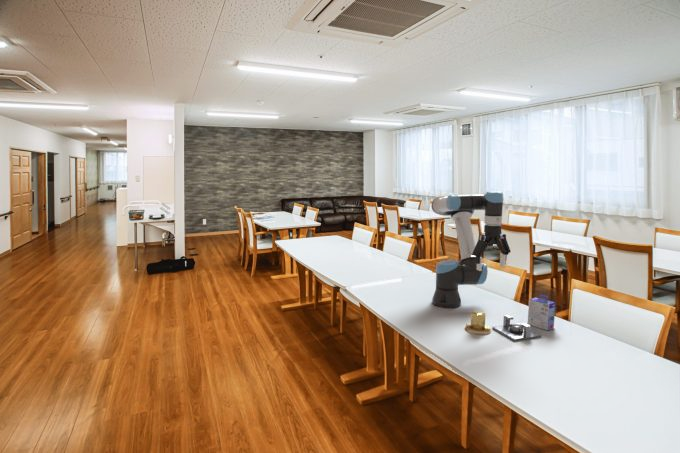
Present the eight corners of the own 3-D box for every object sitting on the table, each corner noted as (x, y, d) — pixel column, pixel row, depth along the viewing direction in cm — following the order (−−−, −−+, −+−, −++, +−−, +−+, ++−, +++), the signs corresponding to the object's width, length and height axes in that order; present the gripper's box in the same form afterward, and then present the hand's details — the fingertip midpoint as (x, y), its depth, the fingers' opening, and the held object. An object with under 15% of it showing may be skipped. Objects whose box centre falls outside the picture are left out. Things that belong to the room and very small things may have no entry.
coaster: (460, 326, 177) (460, 325, 177) (480, 324, 180) (480, 322, 180) (474, 336, 166) (474, 334, 166) (496, 333, 169) (496, 331, 169)
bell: (465, 328, 173) (465, 313, 172) (467, 324, 178) (468, 309, 177) (488, 333, 168) (489, 317, 167) (490, 328, 173) (491, 313, 172)
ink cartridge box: (554, 328, 174) (556, 297, 172) (547, 331, 171) (549, 299, 169) (533, 321, 182) (535, 292, 180) (527, 324, 179) (528, 294, 177)
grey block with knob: (492, 328, 174) (492, 316, 173) (518, 325, 178) (518, 313, 177) (514, 341, 160) (514, 328, 160) (541, 337, 164) (542, 324, 163)
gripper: (476, 227, 171) (474, 273, 174) (520, 224, 179) (517, 268, 182) (465, 225, 178) (463, 269, 181) (508, 222, 186) (506, 264, 189)
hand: (490, 268), depth 182 cm, fingers open, 13 cm apart
